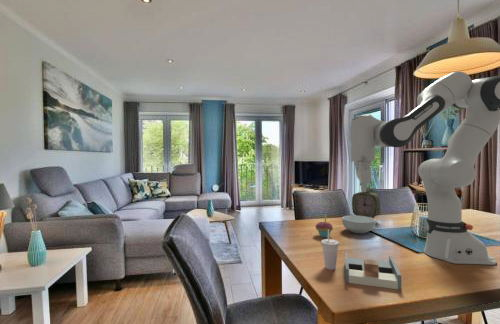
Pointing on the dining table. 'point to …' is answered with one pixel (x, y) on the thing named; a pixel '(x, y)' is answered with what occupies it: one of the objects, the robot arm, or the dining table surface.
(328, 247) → the smoothie
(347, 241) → the dining table surface
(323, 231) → the cupcake
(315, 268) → the dining table surface
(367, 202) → the tabletop clock
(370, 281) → the board
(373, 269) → the terracotta block
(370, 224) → the cereal bowl
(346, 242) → the dining table surface
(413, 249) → the dining table surface
